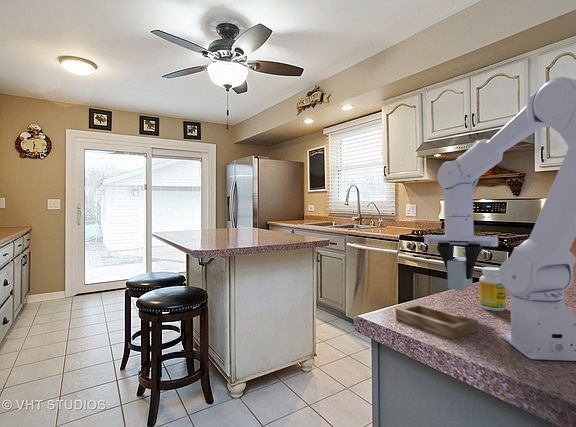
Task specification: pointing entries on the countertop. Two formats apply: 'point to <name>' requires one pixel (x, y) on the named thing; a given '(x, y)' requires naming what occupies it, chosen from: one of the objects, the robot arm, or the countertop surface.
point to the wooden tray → (437, 320)
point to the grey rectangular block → (457, 274)
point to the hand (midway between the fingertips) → (459, 277)
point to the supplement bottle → (492, 290)
